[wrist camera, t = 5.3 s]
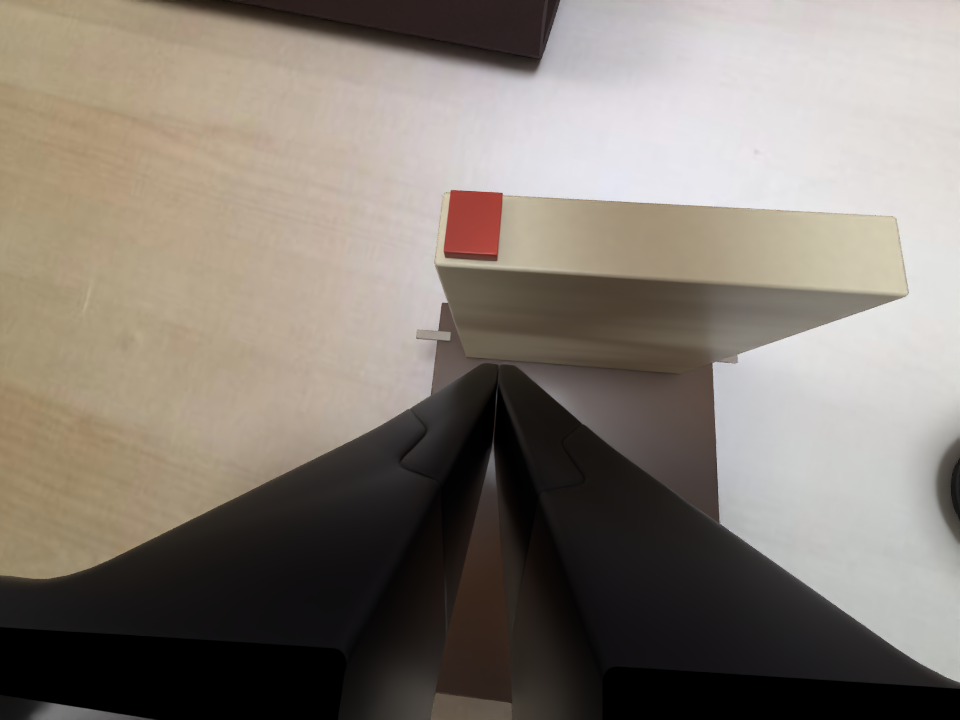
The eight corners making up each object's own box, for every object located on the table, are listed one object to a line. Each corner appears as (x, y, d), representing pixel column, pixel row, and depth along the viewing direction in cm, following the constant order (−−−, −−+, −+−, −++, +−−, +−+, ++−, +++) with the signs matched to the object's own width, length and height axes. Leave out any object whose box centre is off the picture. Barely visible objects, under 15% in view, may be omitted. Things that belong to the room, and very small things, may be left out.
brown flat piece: (704, 676, 15) (760, 740, 12) (395, 637, 15) (370, 688, 12) (689, 250, 19) (729, 212, 15) (444, 235, 19) (434, 197, 16)
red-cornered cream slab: (680, 335, 14) (912, 206, 6) (681, 374, 14) (928, 290, 6) (469, 319, 15) (440, 182, 7) (465, 357, 15) (431, 258, 7)
